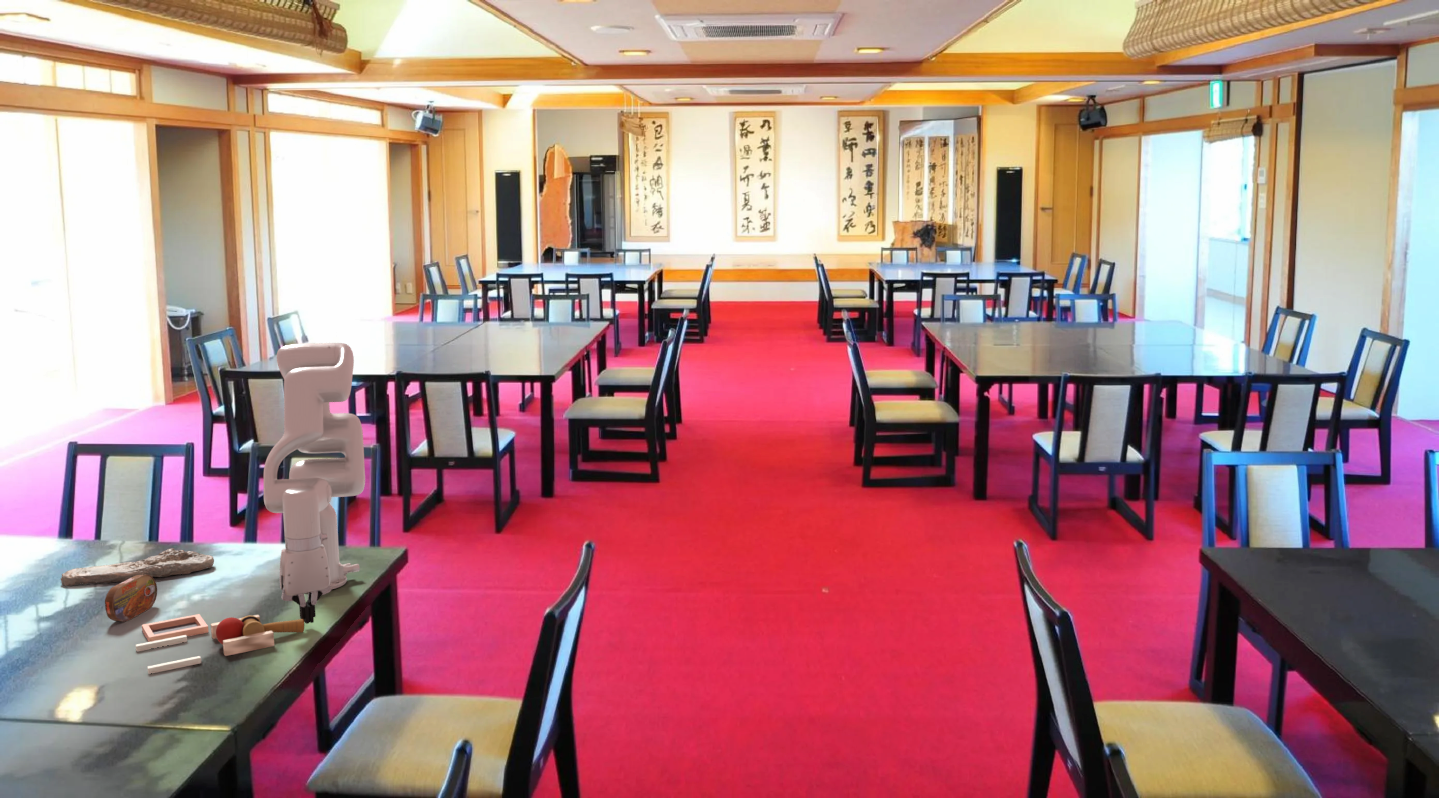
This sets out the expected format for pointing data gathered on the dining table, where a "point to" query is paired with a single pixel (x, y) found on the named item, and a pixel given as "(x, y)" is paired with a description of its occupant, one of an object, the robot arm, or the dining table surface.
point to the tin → (131, 598)
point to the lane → (245, 641)
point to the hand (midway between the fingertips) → (308, 621)
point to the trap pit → (175, 628)
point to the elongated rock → (140, 568)
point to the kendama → (254, 627)
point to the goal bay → (169, 664)
